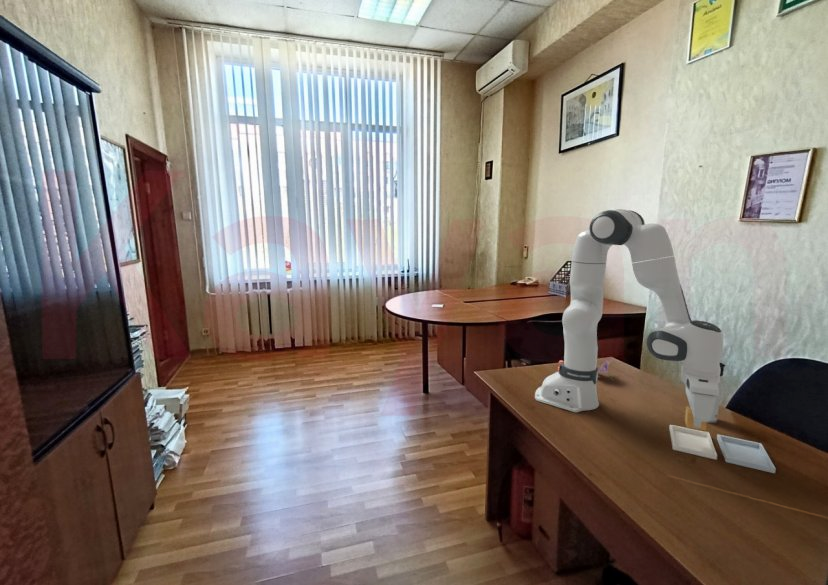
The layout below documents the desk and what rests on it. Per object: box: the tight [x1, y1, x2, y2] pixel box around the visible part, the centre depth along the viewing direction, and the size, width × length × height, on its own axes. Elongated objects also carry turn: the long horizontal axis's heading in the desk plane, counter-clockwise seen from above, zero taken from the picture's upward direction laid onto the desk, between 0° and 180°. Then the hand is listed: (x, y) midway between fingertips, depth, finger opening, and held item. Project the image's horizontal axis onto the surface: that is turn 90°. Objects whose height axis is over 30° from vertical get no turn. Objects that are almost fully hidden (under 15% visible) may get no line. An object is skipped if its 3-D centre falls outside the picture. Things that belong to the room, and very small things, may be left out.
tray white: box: [668, 424, 718, 461], centre depth 110 cm, size 10×13×2 cm
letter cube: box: [684, 405, 708, 432], centre depth 108 cm, size 4×4×5 cm
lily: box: [598, 358, 614, 382], centre depth 157 cm, size 12×12×10 cm
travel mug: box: [707, 362, 726, 424], centre depth 122 cm, size 6×7×20 cm
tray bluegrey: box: [716, 433, 777, 474], centre depth 104 cm, size 10×13×2 cm
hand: (695, 421), depth 109 cm, fingers closed on letter cube, 4 cm apart
